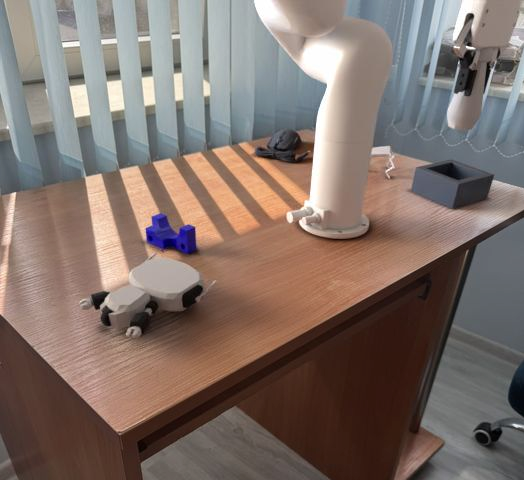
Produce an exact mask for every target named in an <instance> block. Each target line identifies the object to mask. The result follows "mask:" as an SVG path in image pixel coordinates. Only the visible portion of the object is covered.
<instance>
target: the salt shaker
mask: <svg viewBox="0 0 524 480" xmlns="http://www.w3.org/2000/svg"><path fill="white" fill-rule="evenodd" d="M470 46H471V47H473V46H472V44H471V45H470ZM470 52H471V55H472V56H473V53H474V52H473V51H470ZM493 54H494V49H493V48H491V47H490V48H482V50H481V53H480V56H479V59H478V62H477V66H476V68H475V69H474V70H478V71H477V75H476V78H475V82H474V86H473V89H472V93H471V95H470V96H464V91H465V90H464V91H463V92H459V93H458V94H455V93H454V94H453V95H452V98H451V101H450V103H449V105H448V107H447V112H446V118H447V127H449V128H451V129H454V130H457V131H458V130H459V131H470V130H473V128H474V127H475V125H476V124H477V123H478V122H479V120H480V119H481V116H482V110H483V109H482V108H483V102H484V101H483V100H484V94H485V93H484V84H485V75H486V66H487V62H489V61H491V59H492V57H493ZM483 93H484V94H483Z"/></svg>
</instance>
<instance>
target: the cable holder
mask: <svg viewBox="0 0 524 480" xmlns="http://www.w3.org/2000/svg"><path fill="white" fill-rule="evenodd" d="M144 230H145V237H146V243H147V244H150V245H153V246H155V247H156V248H159V249H161V250H166V249H169V248H173V249H174V250H176V251H179V252H181V253H184V254H186V255H189V254H191V253H193V252H195V251H197V233H196V226H194V225H191V224H189V223H188V224H186V225H184V226H181V227H179V232H176V231H175V230H173V228H172V226H171V225H170V222H169V219H168V216H167V214H164V213H162V212H160V213H158V214H155V215H152V216H151V225H150V226H147V227H145V229H144Z"/></svg>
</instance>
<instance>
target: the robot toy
mask: <svg viewBox="0 0 524 480" xmlns="http://www.w3.org/2000/svg"><path fill="white" fill-rule="evenodd" d="M157 254H158V252H157V251H156V252H153V253H152V254H151V255H150V256H149V257H148V258H147V259H145V261H143V263H140V264H139V265H137V266H135V267H133V268H132V269H131V271H130V272H129V274H128V282H129V284H128V285H125V286H123V287H120V288H118V289H116V290H114V291H112V292H111V291H110V292H109V291H107V290H106V291H105V290H102V291H98V292H94V293H91V294H90V298H83V299H81V300H80V301H79V302H78V304H79V307H80V309H81V310H83V311H85V310H87V311H88V310H90V309H92V308H93V307H94V309H95V311H97V310H100V312H101V314H100V317H99V318H100V322H101V323H102V324H103V326H105V327H111V329H112V330H121V329H125V328H127V329H126V332H125V336H126V337H127V338H132V339H138V338H139V337H141V335H144V334H145V333H146V331H147V330H148V328H149V327H150V325H151V324H150V322H151V317H150V316H151V315H155V314H157V312H158V311H159V310H161V311H165V312H172V313H173V312H184V310H186V309H189V308H191V307H193V306H194V305H196V304H198V303H200V302H201V301H202V300H203V298H204V297H205V295H207V294H208V292H209V291H210V290H211V289H212V288H213V287H215V286H216V285H217V283H218V280H217V279H216V280H213V281H212V282H211V284H210V285H209V286H208V287H207V288H205V279H204V277H203V275H202V273H200V272H199V270H197V269H196V268H194V267H192V266H190V265H189V264H187V263H186V262H182V261H181V260H177V259H173V258H168V257H156V256H157Z"/></svg>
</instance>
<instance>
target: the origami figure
mask: <svg viewBox="0 0 524 480" xmlns="http://www.w3.org/2000/svg"><path fill="white" fill-rule="evenodd" d="M382 157H383V158H386V157H387V159H388V161H387V162H386V164H385V165H386V167H387V168H388V169H387V170H385V174H386V176H387V177H388V179H391V176H390V174H389V172H391V171H393V170H395V169H396V166H395V164H394V162H393V161H392V160H393V159H394V158H395V157H396V154H395V153H394V151H393V149H392V146H391V145H383V146H376V147H372V153H371V158H382ZM389 164H391V166H390V165H389Z"/></svg>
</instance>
